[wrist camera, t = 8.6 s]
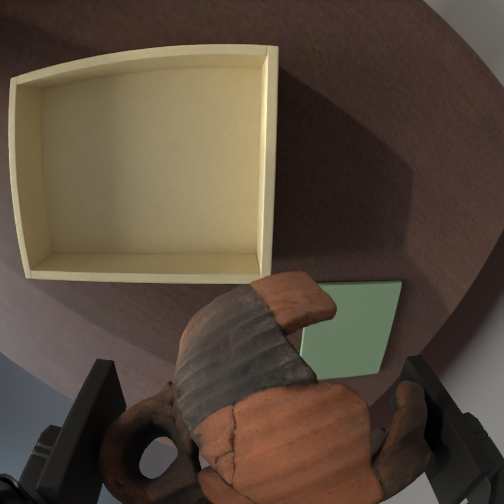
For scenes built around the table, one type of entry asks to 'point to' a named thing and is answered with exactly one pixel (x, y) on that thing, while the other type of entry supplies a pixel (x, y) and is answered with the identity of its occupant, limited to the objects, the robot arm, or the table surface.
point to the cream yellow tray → (147, 165)
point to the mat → (352, 329)
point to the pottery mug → (263, 415)
